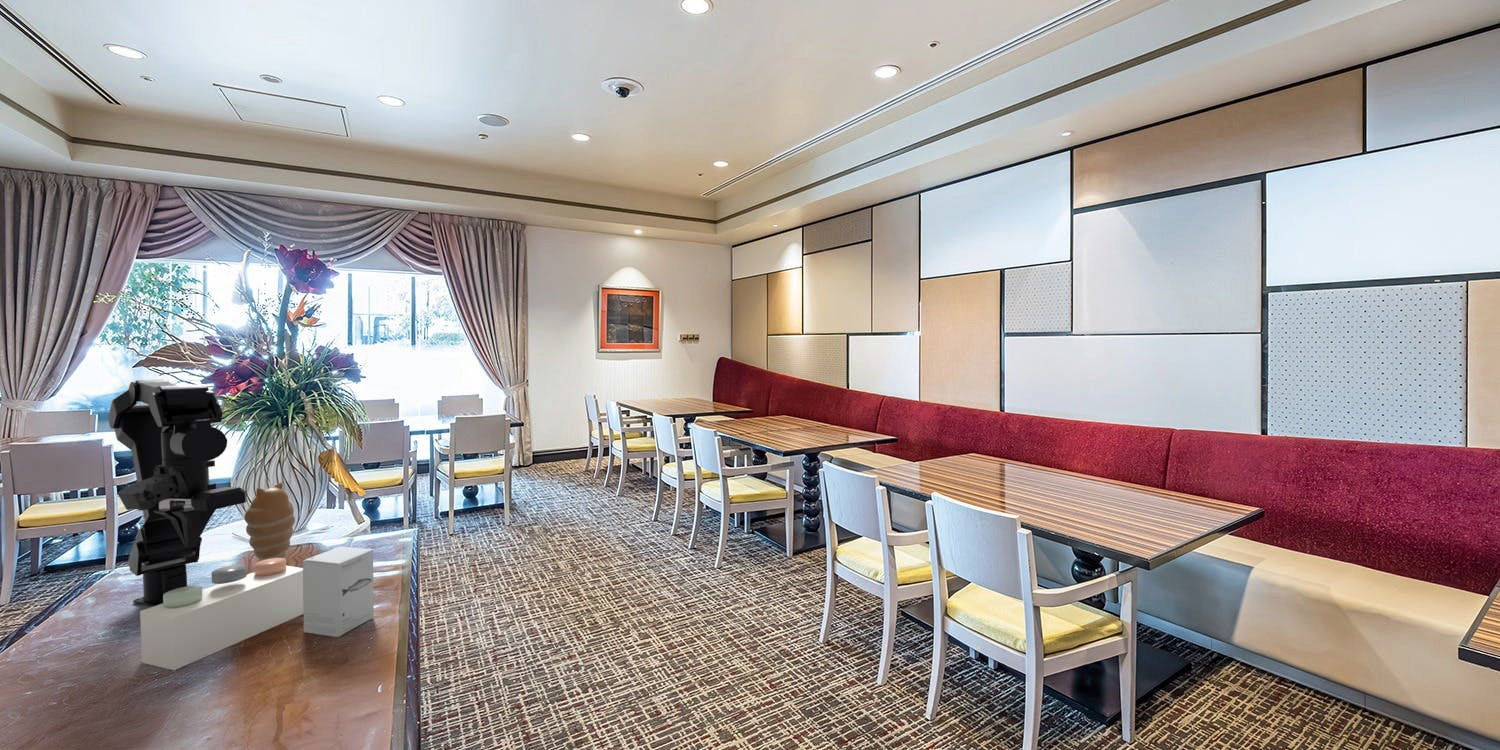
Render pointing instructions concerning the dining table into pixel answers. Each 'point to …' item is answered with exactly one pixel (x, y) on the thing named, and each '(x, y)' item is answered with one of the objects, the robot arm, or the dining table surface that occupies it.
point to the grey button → (229, 574)
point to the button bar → (220, 618)
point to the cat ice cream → (270, 523)
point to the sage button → (182, 596)
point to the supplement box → (338, 591)
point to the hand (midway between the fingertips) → (190, 546)
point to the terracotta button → (270, 566)
